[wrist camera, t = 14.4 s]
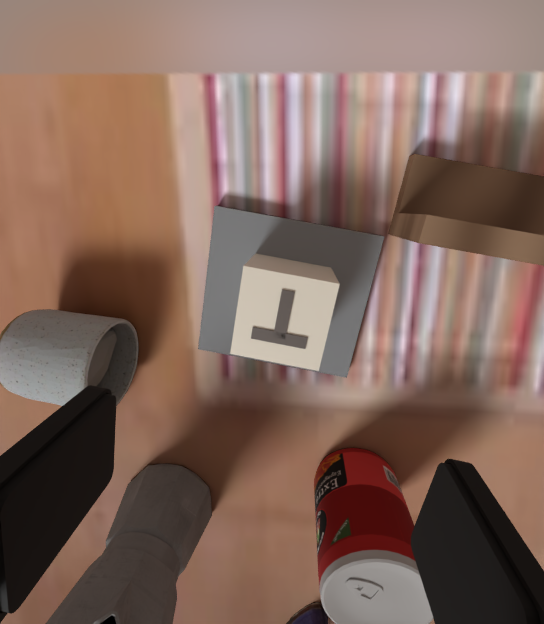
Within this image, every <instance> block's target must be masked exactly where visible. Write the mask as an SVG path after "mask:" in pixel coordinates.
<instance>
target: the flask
mask: <svg viewBox="0 0 544 624" xmlns="http://www.w3.org/2000/svg"><path fill="white" fill-rule="evenodd" d="M287 624H328V615H327V614H326V612H325V610H324V608H323V605H322V603H317V602H316V603H311V604H310V605H308V606H306V607H304V608H303V609H302V610H300V611H299V612H298V613H296V614H295V615H294V616H293V617H292V618H291V619H290V621H289V622H288V623H287Z"/></svg>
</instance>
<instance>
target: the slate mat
mask: <svg viewBox="0 0 544 624" xmlns="http://www.w3.org/2000/svg"><path fill="white" fill-rule="evenodd" d="M383 240H384V236H381V235H375V234H370V233H364V232H359V231H353V230H348V229H342V228H337V227H331V226H326V225H320V224H315V223H309V222H304V221H298V220H293V219H287V218H282V217H276V216H271V215H265V214H260V213H254V212H248V211H243V210H237V209H232V208H226V207H221V206H215V207H214V216H213V225H212V233H211V242H210V251H209V260H208V268H207V277H206V286H205V294H204V303H203V312H202V320H201V329H200V338H199V347H198V349H200V350H205V351H211V352H216V353H221V354H226V355H231V356H237V357H242V358H247V359H252V360H258V361H263V362H268V363H273V364H278V365H284V366H289V367H294V368H299V369H305V368H300V367H295V366H290V365H285V364H280V363H275V362H270V361H264V360H259V359H254V358H249V357H244V356H239V355H234V354H230V351H231V345H232V338H233V331H234V325H235V318H236V311H237V305H238V298H239V292H240V285H241V278H242V272H243V266H244V265H245V264H246V263H247V262H248V261H249V260H250V259H251V257H252V256H253V255H254V254H255V253H256V254H261V255H267V256H272V257H277V258H283V259H288V260H293V261H299V262H304V263H309V264H315V265H320V266H325V267H331V268H332V270H333V272H334V274H335V276H336V278H337V280H338V282H339V283H340V285H339V289H338V293H337V298H336V302H335V306H334V310H333V314H332V318H331V322H330V327H329V331H328V335H327V339H326V343H325V347H324V351H323V355H322V360H321V364H320V368H319V371H316V370H311V369H305V370H310V371H315V372H320V373H325V374H331V375H336V376H341V377H346V378H347V375H348V371H349V367H350V363H351V360H352V356H353V352H354V348H355V345H356V341H357V337H358V333H359V330H360V326H361V322H362V318H363V315H364V311H365V307H366V303H367V300H368V296H369V292H370V289H371V285H372V281H373V277H374V274H375V270H376V266H377V262H378V259H379V255H380V251H381V247H382V244H383Z"/></svg>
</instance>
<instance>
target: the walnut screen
mask: <svg viewBox="0 0 544 624" xmlns="http://www.w3.org/2000/svg"><path fill="white" fill-rule="evenodd" d="M389 234H390V235H393V236H397V237H400V238H403V239H407V240H410V241H414V242H417V243H422V244H427V245H433V246H438V247H444V248H450V249H455V250H461V251H466V252H472V253H477V254H483V255H488V256H494V257H499V258H505V259H510V260H516V261H521V262H527V263H532V264H538V265H543V266H544V176H538V175H532V174H527V173H521V172H515V171H509V170H504V169H498V168H492V167H487V166H481V165H475V164H469V163H464V162H458V161H452V160H447V159H441V158H435V157H430V156H424V155H418V154H413V155H411V156H409V160H408V163H407V167H406V171H405V175H404V178H403V182H402V186H401V189H400V193H399V197H398V200H397V204H396V208H395V212H394V215H393V219H392V223H391V226H390V230H389Z"/></svg>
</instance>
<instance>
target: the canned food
mask: <svg viewBox="0 0 544 624" xmlns="http://www.w3.org/2000/svg"><path fill="white" fill-rule="evenodd" d="M314 491H315V512H316V534H317V555H318V576H319V589H320V594H321V602H322V605H323V608H324V610H325V612H326V614H327V615H328V616H329V617H330V619H331V620H332V621H333V622H334V623H336V624H429V623H430V622H431V621H432V620H433V615H432V612H431V609H430V605H429V602H428V599H427V596H426V593H425V590H424V587H423V583H422V580H421V577H420V574H419V571H418V568H417V564H416V561H415V558H414V555H413V552H412V548H411V534H412V531H413V529H414V524H413V521H412V518H411V516H410V513H409V510H408V507H407V505H406V502H405V499H404V496H403V494H402V491H401V488H400V486H399V483H398V480H397V478H396V475H395V473H394V471H393V470H392V468H391V467H390V466H389V465H388V463H387V462H386V461H385V460H384V459H383V458H381V457H380V456H379V455H377V454H375V453H373V452H371V451H368V450H365V449H360V448H347V449H341V450H338V451H335V452H333V453H331V454H330V455H328V456H327V457H325V458H324V460H323V461H322V462H321V463H320V465H319V467H318V469H317V472H316V475H315V479H314Z"/></svg>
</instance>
